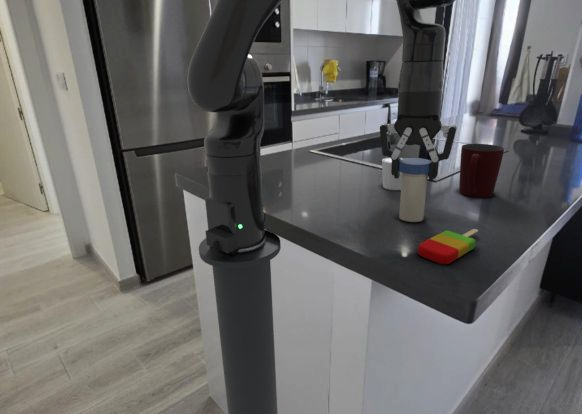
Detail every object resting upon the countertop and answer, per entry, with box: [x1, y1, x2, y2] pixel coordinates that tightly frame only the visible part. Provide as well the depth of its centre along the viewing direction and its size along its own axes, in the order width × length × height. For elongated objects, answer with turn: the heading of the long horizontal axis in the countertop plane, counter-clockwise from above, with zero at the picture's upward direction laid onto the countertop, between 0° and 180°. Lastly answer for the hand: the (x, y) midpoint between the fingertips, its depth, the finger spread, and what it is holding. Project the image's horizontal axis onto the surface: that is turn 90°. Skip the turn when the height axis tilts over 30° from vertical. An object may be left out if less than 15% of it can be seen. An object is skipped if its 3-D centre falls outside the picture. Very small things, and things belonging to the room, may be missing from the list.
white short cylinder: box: [381, 157, 405, 191], centre depth 95 cm, size 7×7×7 cm
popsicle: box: [417, 228, 479, 265], centre depth 64 cm, size 6×15×2 cm, turn 131°
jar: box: [398, 173, 429, 223], centre depth 75 cm, size 5×5×11 cm
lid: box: [399, 157, 431, 175], centre depth 73 cm, size 6×6×2 cm
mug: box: [458, 143, 505, 199], centre depth 88 cm, size 12×9×11 cm
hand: (413, 178), depth 74 cm, fingers closed on lid, 6 cm apart
